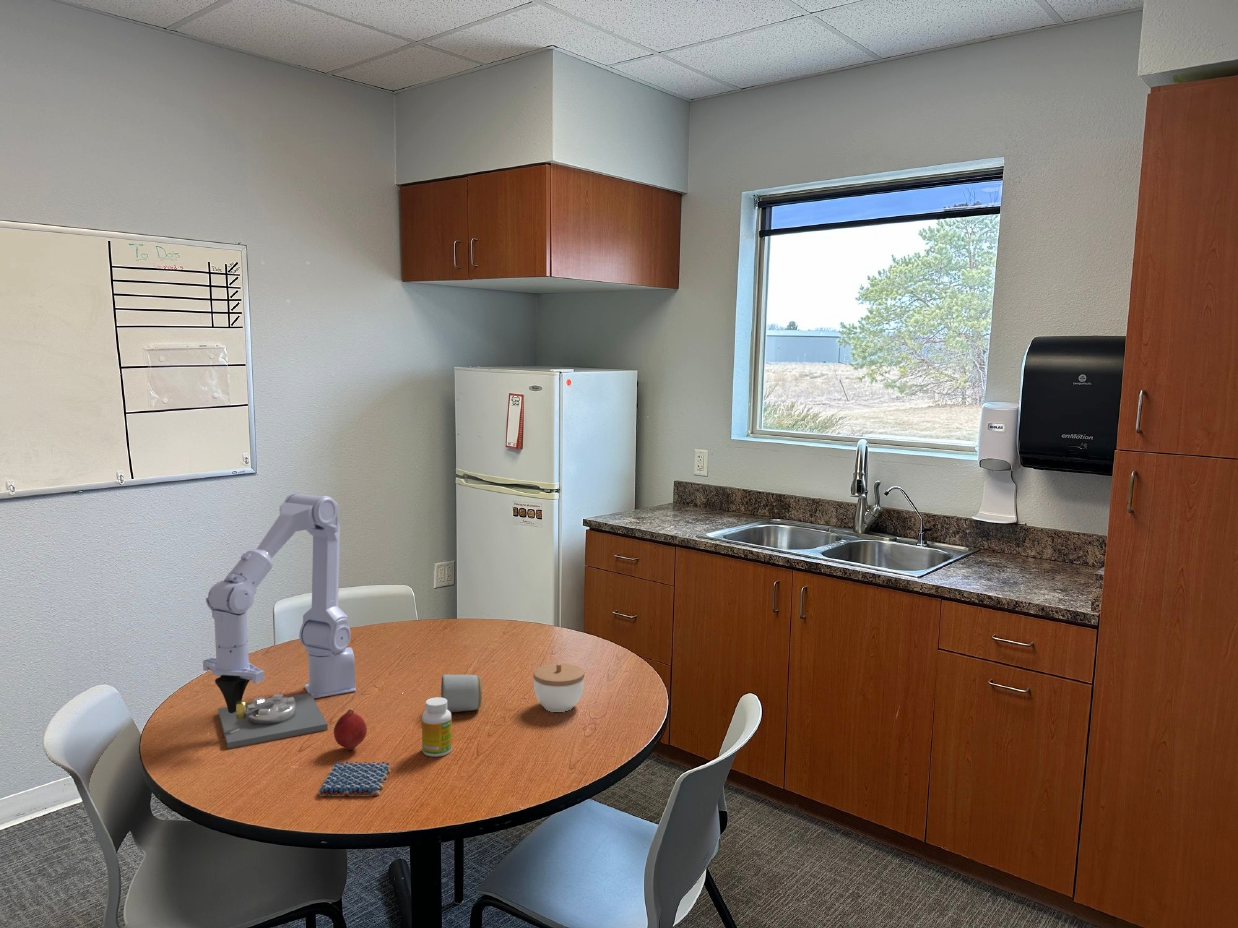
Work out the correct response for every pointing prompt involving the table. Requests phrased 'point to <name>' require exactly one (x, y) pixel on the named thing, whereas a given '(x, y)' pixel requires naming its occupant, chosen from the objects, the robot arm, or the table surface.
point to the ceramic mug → (461, 692)
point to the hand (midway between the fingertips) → (234, 711)
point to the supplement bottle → (436, 728)
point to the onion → (350, 730)
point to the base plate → (248, 733)
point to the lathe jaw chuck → (267, 710)
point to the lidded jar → (558, 686)
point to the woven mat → (355, 779)
